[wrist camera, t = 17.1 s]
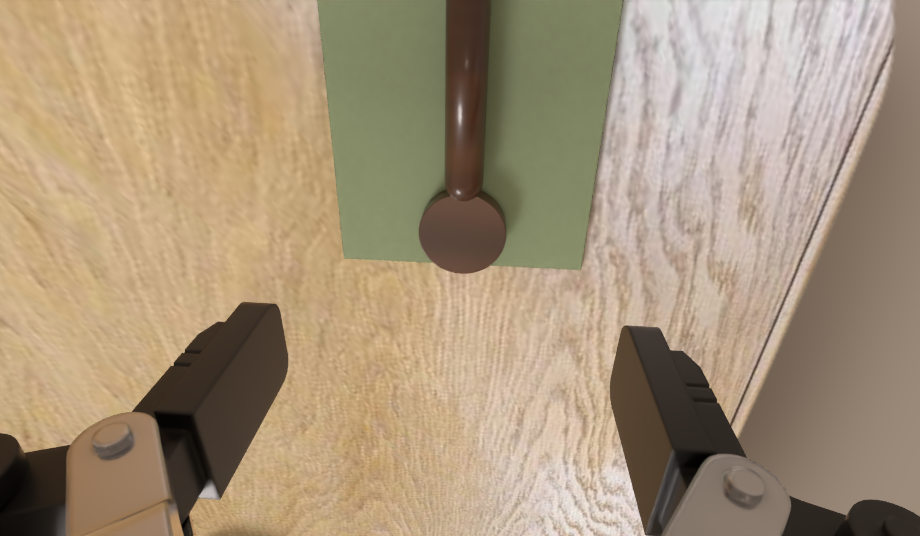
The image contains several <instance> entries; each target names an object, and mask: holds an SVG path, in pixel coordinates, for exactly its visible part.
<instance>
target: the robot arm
mask: <svg viewBox="0 0 920 536" xmlns="http://www.w3.org/2000/svg"><path fill="white" fill-rule="evenodd" d="M287 369H288V353H287V347H286V341H285V336H284V330H283V325H282V319H281V314H280V310H279V307H278V306H277V305H276V304H269V303H252V302H243V303H241V304H240V305H239V306H238V307H237V308H236V309H235V311H234V312H233V313H232V314H231V316H230V317H229V318H228V319H227V321H226V322H217V323H215V324H214V325H212V326H211V327H209V328H208V329H206V330H204V331H203V332H201V333H200V334H198V335H197V336H196V338H195V339H194V340H193V341H192V342H191V343H190V344H189V346H188V347H187V348H186V349H185V353H182V354H181V355H180V356H179V357H178V358H177V360H176V361H175V362H174V366H171V367H170V368H169V369H168V370H167V371H166V372H165V374H164V375H163V376H162V377H161V378H160V379H159V381H158V382H157V383H156V384H155V385H154V386H153V388H152V389H151V390H150V391H149V392H148V393H147V395H146V396H145V397H144V398H143V399H142V400H141V402H140V403H139V404H138V405H137V406H136V407H135V409H134V410H133V411H132V412H127V413H121V414H117V415H114V416H110V417H108V418H105V419H103V420H101V421H99V422H97V423H95V424H93V425H92V426H90V427H89V428H87V429H86V430H84V431H83V432H82V433H81V434H80V435H79V436H78V437H77V438H76V439H75V440H74V441H73V442H72V444H71V445H67V446H61V447H56V448H50V449H44V450H39V451H33V452H27V453H24V452H23V450H22V448H21V446H20V445H19V443H18V441H17V440H16V439H15V438H14V437H13V436H11V435H8V434H2V433H0V536H196V533H195V529H194V524H193V520H192V517H191V514H190V511H191V509H192V508H193V506H194V504H195V503H196V501H197V499H198V498H203V499H216V500H220V499H221V497H222V495H223V493H224V491H225V489H226V488H227V486H228V484H229V482H230V480H231V478H232V477H233V475H234V473H235V471H236V469H237V467H238V466H239V464H240V462H241V460H242V458H243V456H244V454H245V453H246V451H247V449H248V447H249V445H250V443H251V442H252V440H253V438H254V436H255V434H256V432H257V431H258V429H259V427H260V425H261V423H262V421H263V419H264V418H265V416H266V414H267V412H268V410H269V408H270V407H271V405H272V403H273V401H274V399H275V397H276V396H277V394H278V392H279V390H280V388H281V386H282V384H283V383H284V380H285V378H286V374H287ZM610 399H611V405H612V409H613V413H614V417H615V421H616V425H617V428H618V432H619V436H620V440H621V444H622V448H623V451H624V455H625V459H626V463H627V467H628V471H629V474H630V478H631V482H632V486H633V490H634V494H635V498H636V501H637V505H638V509H639V513H640V517H641V521H642V524H643V528H644V532H645V535H649V536H920V517H919V516H918V515H916V514H914V513H913V512H911V511H909V510H907V509H905V508H903V507H900V506H898V505H895V504H892V503H889V502H885V501H880V500H863V501H860V502H858V503H856V504H854V505H853V507H852V508H851V510H850V511H849V513H848V514H847V516H846V515H843V514H840V513H837V512H834V511H831V510H828V509H825V508H822V507H819V506H816V505H813V504H810V503H807V502H804V501H801V500H798V499H796V498H793V497H791V496H789V494H788V492H787V491H786V489H785V487H784V486H783V484H782V483H781V482H780V481H779V480H778V478H777V477H776V476H775V475H773V474H772V473H771V472H770V471H769V470H767V469H766V468H764V467H763V466H761V465H759V464H758V463H756V462H754V461H752V460H750V459H748V458H747V457H746V455H745V454H744V451H743V449H742V447H741V445H740V443H739V441H738V439H737V437H736V436H735V434H734V432H733V430H732V428H731V426H730V424H729V422H728V420H727V418H726V416H725V414H724V412H723V410H722V408H721V406H720V405H719V403H717V399H716V397H715V395H714V393H713V391H712V389H711V388H709V383H708V381H707V379H706V377H705V376H704V374H703V372H702V370H701V368H700V367H699V366H698V365H697V364H696V363H695V362H694V361H693V360H692V359H691V358H690V357H689V356H687V355H686V354H685V353H684V352H683V351H672V350H670V349H669V347H668V345H667V342H666V340H665V338H664V336H663V334H662V332H661V330H660V329H659V328H658V327H642V326H624V327H623V328H622V330H621V334H620V338H619V343H618V347H617V352H616V356H615V361H614V366H613V370H612V375H611V381H610Z"/></svg>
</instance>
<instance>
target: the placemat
mask: <svg viewBox="0 0 920 536" xmlns="http://www.w3.org/2000/svg"><path fill="white" fill-rule="evenodd" d="M317 2H318V12H319V21H320V31H321V41H322V50H323V60H324V70H325V79H326V89H327V99H328V108H329V118H330V128H331V137H332V147H333V156H334V166H335V176H336V185H337V195H338V205H339V214H340V224H341V234H342V243H343V253H344V258H345V259H365V260H386V261H407V262H427V263H433V262H432V261H431V260H430V259H429V258H428V257H427V255H426V254H425V253H424V251H423V249H422V247H421V244H420V240H419V225H420V221H421V218H422V215H423V212H424V210H425V208H426V206H427V204H428V203H429V202H430V200H431V199H432V198H433V197H435V196H436V195H437V194H439V193H440V192H442V191H444V190H446V188H445V43H446V0H317ZM622 6H623V0H491V20H490V42H489V64H488V86H487V108H486V130H485V152H484V174H483V187H482V189H481V191H483V192H485V193H487V194H488V195H490V196H491V197H492V198H493V199H494V200H496V202H497V203H498V204H499V206H500V207H501V209H502V211H503V213H504V216H505V220H506V243H505V246H504V249H503V251H502V253H501V254H500V256H499V257H498V258H497V260H496V261H495V262H494V263H492V264H491V265H490V266H510V267H531V268H552V269H572V270H581V266H582V260H583V254H584V247H585V241H586V235H587V228H588V222H589V216H590V209H591V203H592V197H593V190H594V184H595V177H596V171H597V165H598V158H599V152H600V146H601V139H602V133H603V127H604V120H605V114H606V108H607V101H608V95H609V88H610V82H611V76H612V69H613V63H614V57H615V50H616V44H617V38H618V31H619V25H620V18H621V12H622Z"/></svg>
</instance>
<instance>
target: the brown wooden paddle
mask: <svg viewBox="0 0 920 536" xmlns="http://www.w3.org/2000/svg"><path fill="white" fill-rule="evenodd" d="M490 20H491V0H446V43H445V188H446V190H444V191H442V192H440V193H439V194H437V195H436V196H435V197H433V198H432V199H431V200H430V202H429V203H428V204H427V206H426V208H425V210H424V212H423V215H422V218H421V221H420V225H419V240H420V244H421V247H422V249H423V251H424V253H425V254H426V255H427V257H428V258H429V259H430V260H431V261H432V262H433V263H434V264H436V265H437V266H439V267H440V268H442V269H444V270H447V271H450V272H454V273H473V272H477V271H480V270H483V269H485V268H487V267H488V266H490V265H491V264H492V263H494V262H495V261H496V260H497V258H498V257H499V256H500V254H501V253H502V251H503V249H504V246H505V243H506V220H505V216H504V213H503V211H502V209H501V207H500V206H499V204H498V203H497V202H496V200H494V199H493V198H492V197H491V196H490V195H488V194H487V193H485V192H483V191H481V189H482V187H483V174H484V152H485V130H486V108H487V86H488V64H489V42H490Z"/></svg>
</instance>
